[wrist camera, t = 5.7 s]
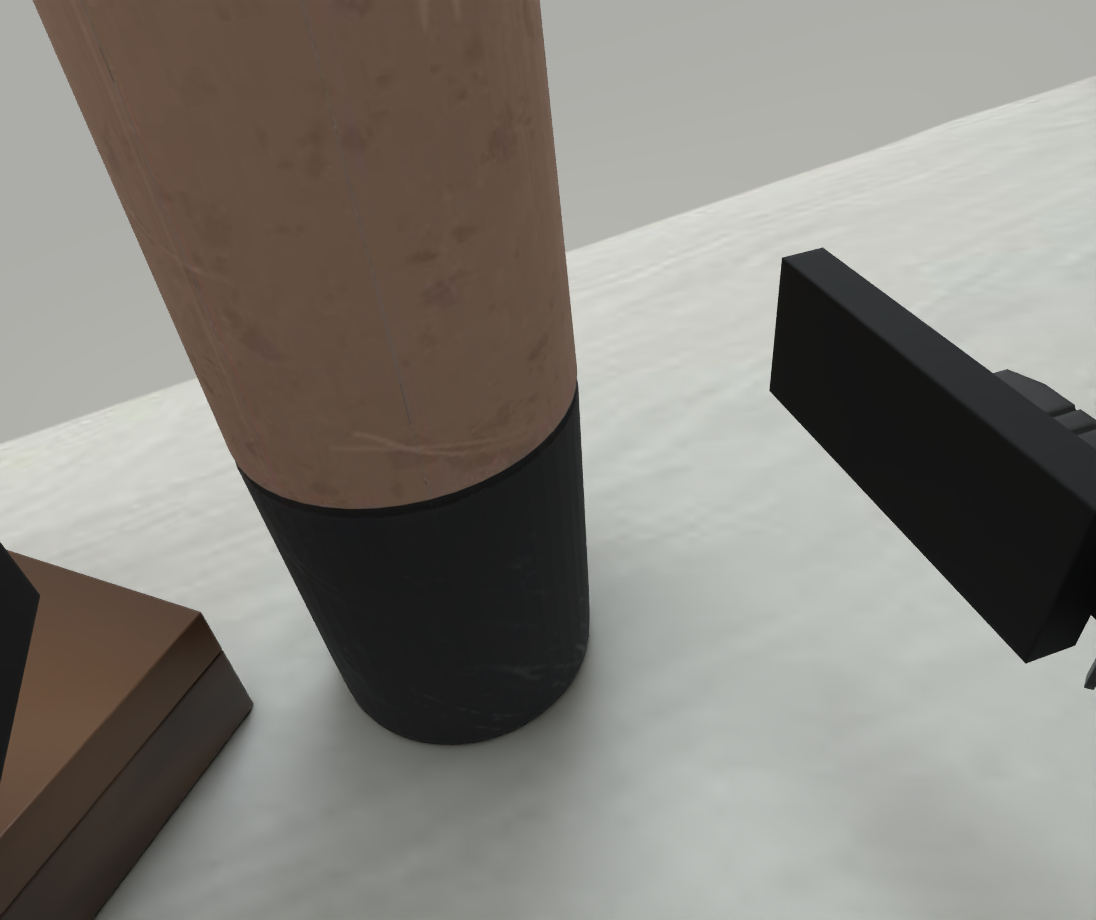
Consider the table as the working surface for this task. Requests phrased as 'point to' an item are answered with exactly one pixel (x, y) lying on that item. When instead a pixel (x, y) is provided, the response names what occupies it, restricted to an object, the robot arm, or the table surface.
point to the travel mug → (370, 317)
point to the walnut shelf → (104, 738)
